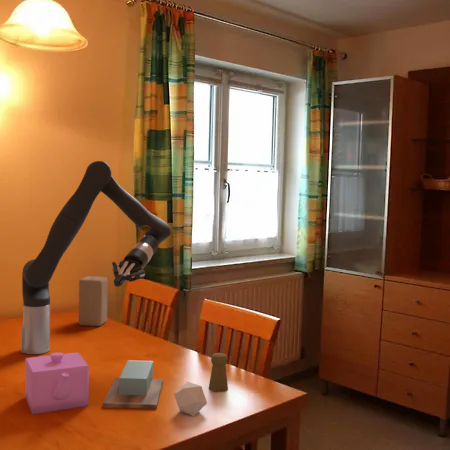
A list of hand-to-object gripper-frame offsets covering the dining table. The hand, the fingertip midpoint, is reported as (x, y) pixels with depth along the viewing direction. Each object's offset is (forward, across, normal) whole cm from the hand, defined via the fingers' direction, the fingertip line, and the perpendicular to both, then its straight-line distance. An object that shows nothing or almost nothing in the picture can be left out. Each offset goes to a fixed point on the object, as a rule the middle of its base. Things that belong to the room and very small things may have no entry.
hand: (116, 284), depth 189 cm
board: (+29, +21, +14) cm, 38 cm away
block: (-29, -27, +52) cm, 65 cm away
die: (+33, +40, +8) cm, 52 cm away
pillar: (+16, +17, +16) cm, 29 cm away
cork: (+15, +43, +16) cm, 48 cm away
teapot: (+42, +3, +12) cm, 43 cm away
